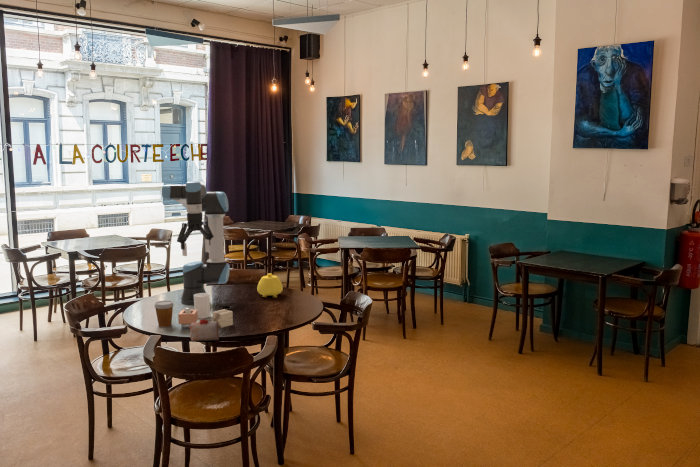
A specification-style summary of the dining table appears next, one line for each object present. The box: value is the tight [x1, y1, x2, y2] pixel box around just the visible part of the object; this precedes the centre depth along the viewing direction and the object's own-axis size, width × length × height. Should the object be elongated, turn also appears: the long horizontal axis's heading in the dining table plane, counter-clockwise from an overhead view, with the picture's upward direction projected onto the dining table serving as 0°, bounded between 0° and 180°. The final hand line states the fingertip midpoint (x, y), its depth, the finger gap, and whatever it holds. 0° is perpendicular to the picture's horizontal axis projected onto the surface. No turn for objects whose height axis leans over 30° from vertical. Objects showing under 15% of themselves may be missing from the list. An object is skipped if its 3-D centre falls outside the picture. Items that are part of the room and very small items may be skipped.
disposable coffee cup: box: [153, 300, 175, 328], centre depth 310 cm, size 10×10×12 cm
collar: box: [177, 309, 199, 325], centre depth 307 cm, size 8×8×5 cm
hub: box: [180, 307, 192, 330], centre depth 307 cm, size 7×7×10 cm
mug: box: [193, 292, 211, 320], centre depth 328 cm, size 12×8×12 cm
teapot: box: [256, 272, 284, 298], centre depth 373 cm, size 20×16×14 cm
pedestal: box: [212, 308, 234, 329], centre depth 311 cm, size 7×7×7 cm
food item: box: [189, 318, 220, 342], centre depth 288 cm, size 14×8×10 cm, turn 98°
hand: (196, 253), depth 309 cm, fingers open, 13 cm apart
